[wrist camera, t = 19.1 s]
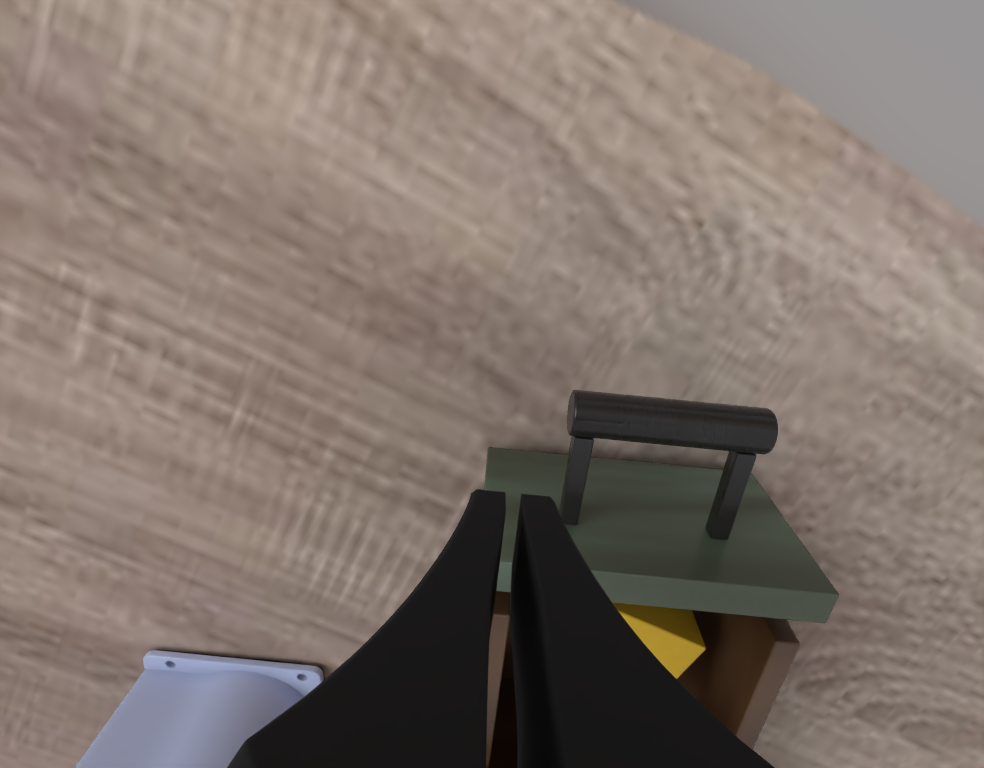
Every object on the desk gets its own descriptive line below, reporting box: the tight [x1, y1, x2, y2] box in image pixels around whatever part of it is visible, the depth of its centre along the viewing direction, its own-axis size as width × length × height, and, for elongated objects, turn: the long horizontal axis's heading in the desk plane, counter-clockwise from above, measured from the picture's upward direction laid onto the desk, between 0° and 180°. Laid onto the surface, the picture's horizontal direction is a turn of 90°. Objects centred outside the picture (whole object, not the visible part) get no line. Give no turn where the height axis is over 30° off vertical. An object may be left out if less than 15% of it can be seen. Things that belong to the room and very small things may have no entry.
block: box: [612, 602, 706, 679], centre depth 21 cm, size 4×4×4 cm
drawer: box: [484, 390, 839, 768], centre depth 21 cm, size 18×11×6 cm, turn 175°
